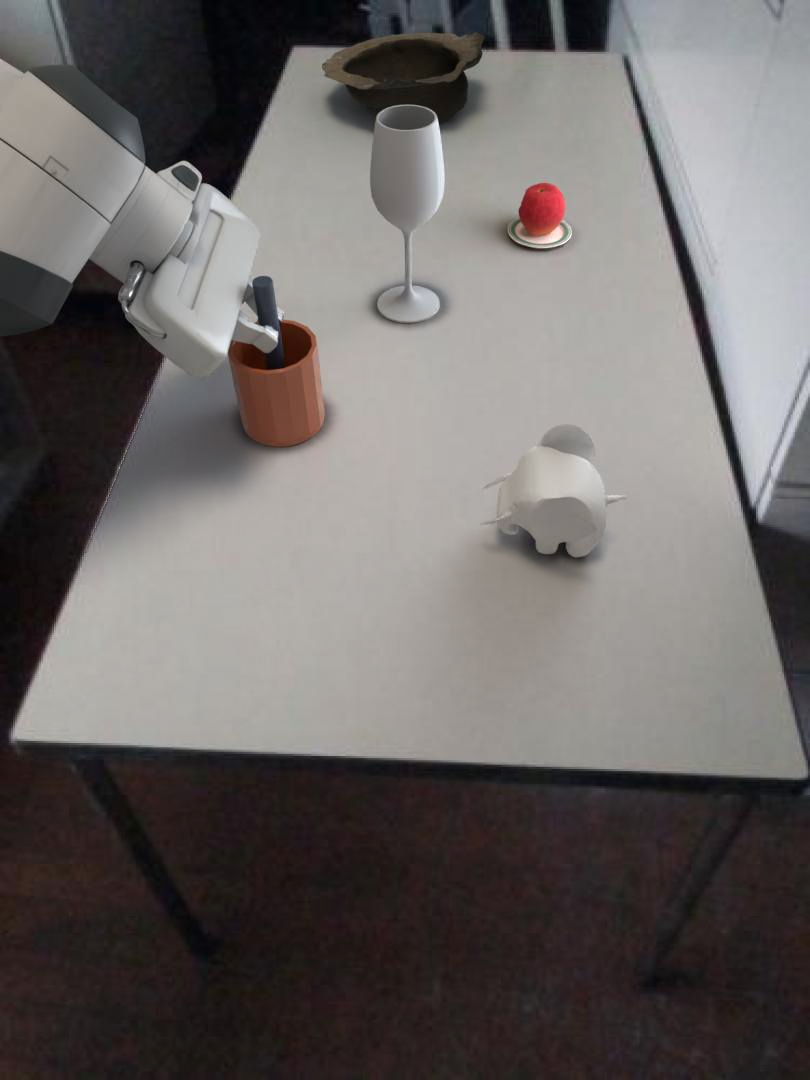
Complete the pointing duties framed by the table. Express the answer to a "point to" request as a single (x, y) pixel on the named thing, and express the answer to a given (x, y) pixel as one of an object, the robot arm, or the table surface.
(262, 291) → the rod
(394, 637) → the table surface
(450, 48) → the stone bowl
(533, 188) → the apple
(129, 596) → the table surface
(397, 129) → the wineglass
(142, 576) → the table surface
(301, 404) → the cup
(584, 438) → the elephant figurine
